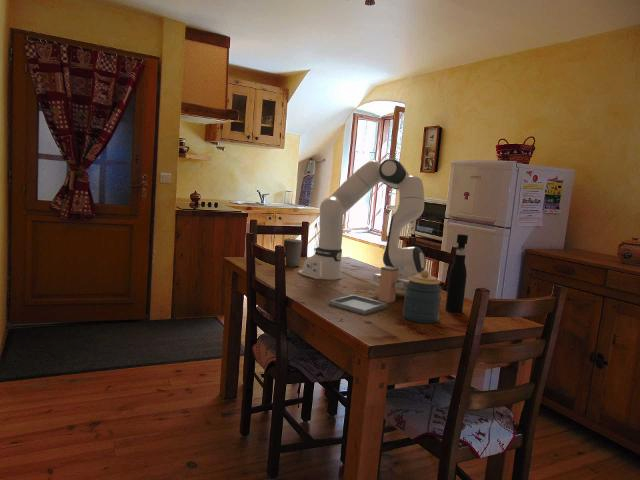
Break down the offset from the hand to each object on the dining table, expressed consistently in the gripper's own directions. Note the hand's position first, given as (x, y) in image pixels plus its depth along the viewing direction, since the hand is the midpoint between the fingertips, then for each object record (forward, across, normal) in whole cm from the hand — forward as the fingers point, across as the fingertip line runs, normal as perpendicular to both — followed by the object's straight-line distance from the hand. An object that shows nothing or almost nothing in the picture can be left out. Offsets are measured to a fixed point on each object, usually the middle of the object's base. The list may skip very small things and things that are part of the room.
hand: (387, 283), depth 192 cm
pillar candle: (-22, -71, +7) cm, 75 cm away
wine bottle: (-10, +25, +7) cm, 28 cm away
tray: (+17, -2, +7) cm, 19 cm away
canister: (+11, +21, +7) cm, 25 cm away
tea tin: (-1, 0, +7) cm, 7 cm away
